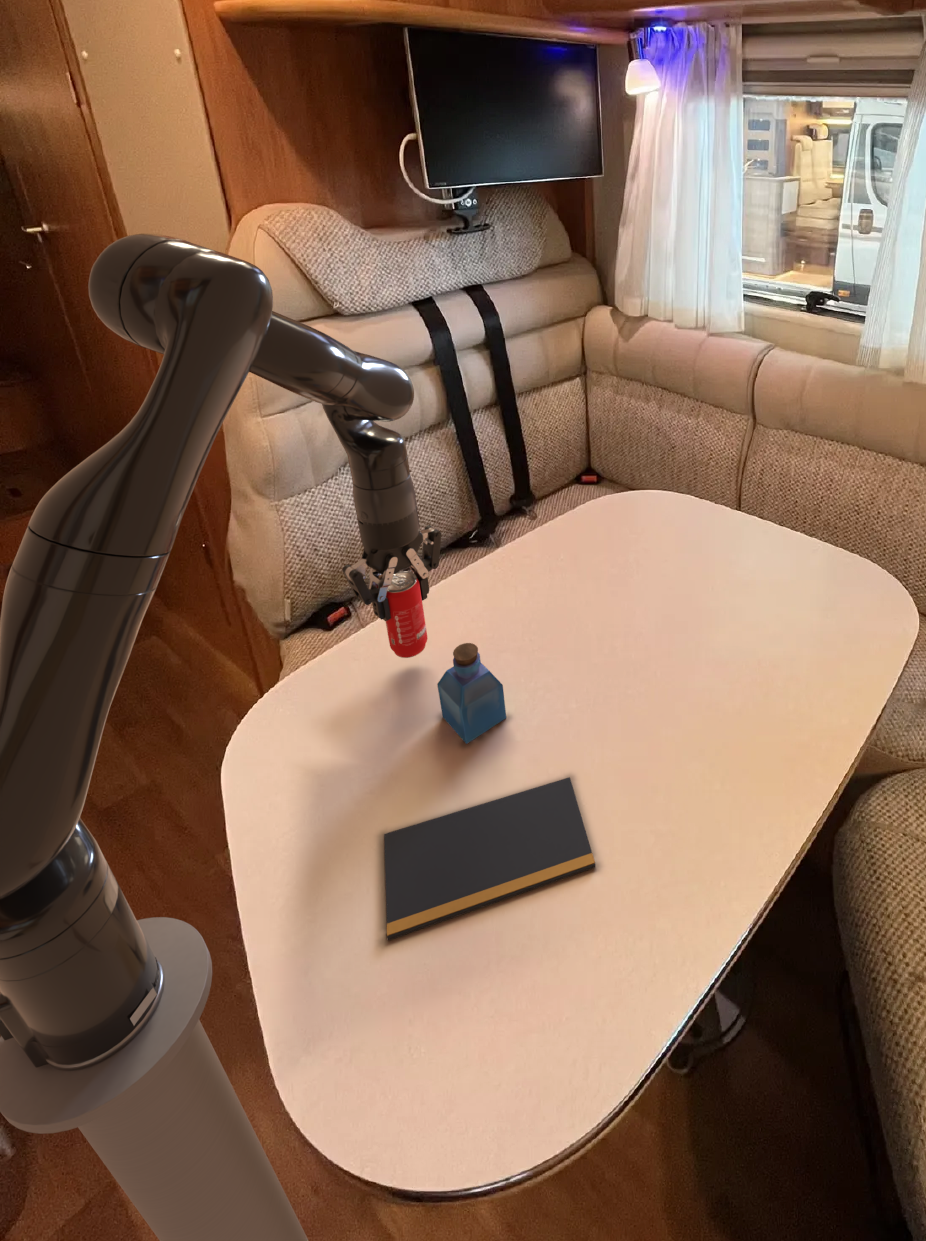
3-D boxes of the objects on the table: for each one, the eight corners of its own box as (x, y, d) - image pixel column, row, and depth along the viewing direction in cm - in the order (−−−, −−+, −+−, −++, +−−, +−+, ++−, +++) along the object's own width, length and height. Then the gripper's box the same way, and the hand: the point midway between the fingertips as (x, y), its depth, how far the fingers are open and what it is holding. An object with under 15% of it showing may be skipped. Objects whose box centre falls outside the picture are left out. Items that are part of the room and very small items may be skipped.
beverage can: (407, 664, 103) (396, 597, 98) (383, 650, 106) (371, 584, 101) (435, 643, 107) (426, 578, 102) (411, 630, 110) (401, 565, 105)
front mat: (387, 940, 74) (386, 937, 74) (384, 836, 84) (383, 833, 84) (595, 867, 82) (595, 863, 81) (570, 779, 92) (569, 776, 91)
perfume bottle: (442, 717, 100) (431, 650, 94) (481, 693, 104) (473, 628, 98) (466, 744, 96) (456, 676, 91) (506, 718, 100) (499, 651, 95)
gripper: (417, 476, 103) (431, 573, 111) (319, 518, 93) (341, 621, 100) (449, 494, 99) (461, 594, 106) (350, 540, 89) (371, 646, 96)
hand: (403, 607), depth 103 cm, fingers closed on beverage can, 5 cm apart
